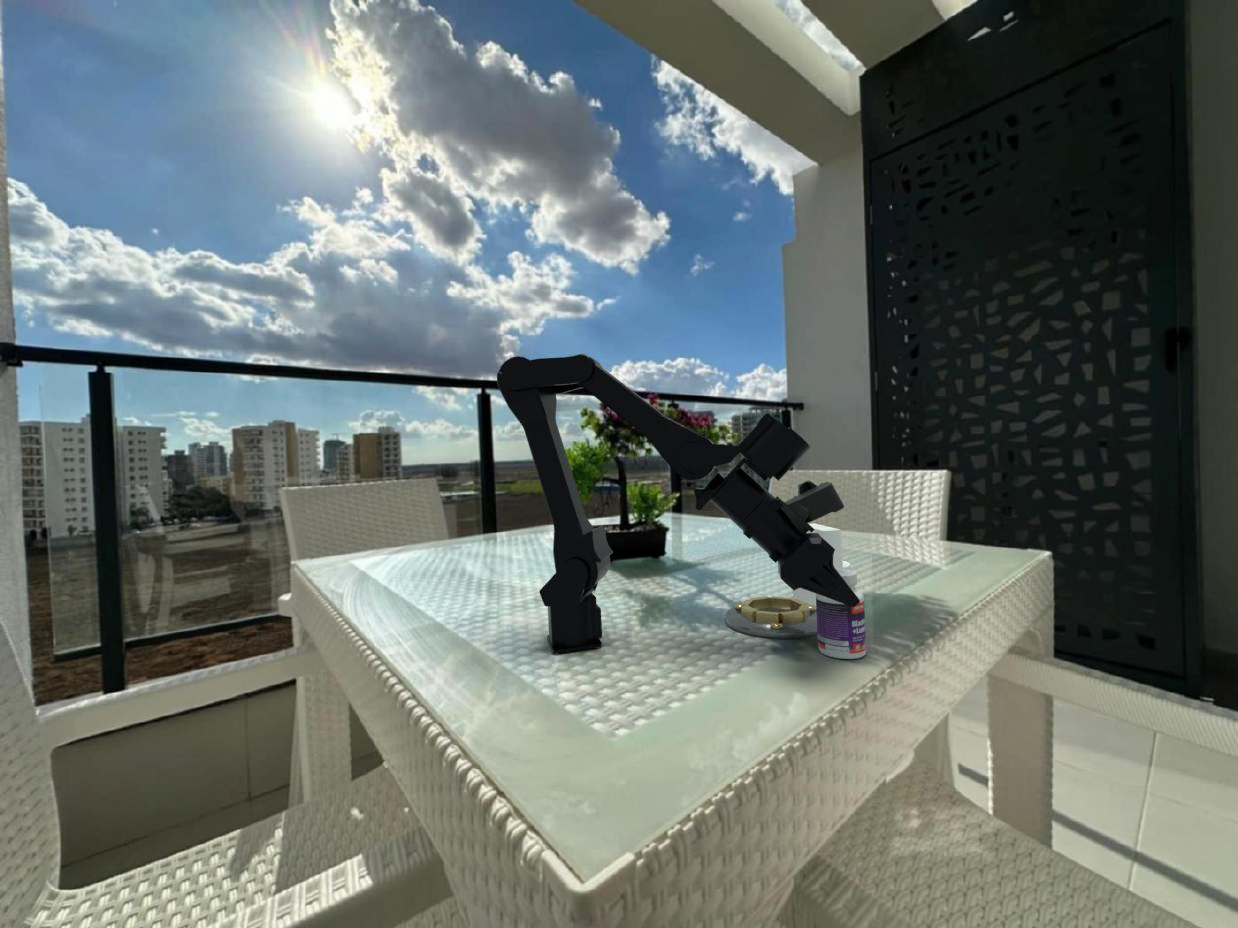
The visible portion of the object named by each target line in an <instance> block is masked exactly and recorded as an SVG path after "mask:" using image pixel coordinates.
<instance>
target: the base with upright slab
mask: <svg viewBox="0 0 1238 928" xmlns="http://www.w3.org/2000/svg"><path fill="white" fill-rule="evenodd" d="M808 524H809V525H810V526H812V527H813V528H814V529H815V530H814V531H813V532H812V533H818V534H819V535H820V536H821V537H822V538H823V539H824V540H826V541H827V542H828V543H829V544H830V545H831V546H832V547H833V548H834V549H835V551H834V554H833V566H834V568H835V569H847V570H852V569H851V563H850V562H848V561H845V560H843V545H842V529H839V528H835V527H831V526H827V525H822V524H819V523H808ZM807 533H811V532H810V531H808V532H807ZM792 594H793V595H792V596H793V597H792V599H798V600H800V601H803V602H805V603H807V604H808V605H814V606H816V593H813V592H811V591H808V590H805V589H802V588H798V589H796V590H793V589H792Z"/></svg>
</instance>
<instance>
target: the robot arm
mask: <svg viewBox="0 0 1238 928" xmlns="http://www.w3.org/2000/svg"><path fill="white" fill-rule="evenodd" d="M496 384H497V387H498V389H499V391H500V393H501V395H502V398H503V400H504V401H505V403H506V405H507V407H508V409H509V410H510V412H512V414H513V416H514V417H515V418H516V419H517V421H518V422H519V423H520V425H521V426H522V429H523V431H524V434H525V438H526V441H527V444H528V447H529V450H530V454H531V457H532V460H533V463H534V466H535V470H536V472H537V477H538V479H539V483H540V485H541V488H542V493H543V495H544V499H545V502H546V506H547V508H548V509H547V510H548V512H549V515H550V518H551V521H552V524H553V547H552V554H553V555H552V556H553V561H554V567H555V568H554V569H555V573H554V574H553V575H552V576H551V578H550V579H549V580H548V581H547V582H546V583H544V585H543V586H542V587H541V588H540V590H539V595H540V598H541V601H542V603H543V605H544V606H545V607H547V620H548V623H547V624H548V634H547V635H546V638H547V639H546V640H547V642H548V644H549V647H550V650H551V652H552V653H553V654H554V655H555V654H563V653H569V652H576V651H582V650H589V649H595V648H596V649H597V648H601V647H602V646H603V645H602V641H601V639H602V638H603V625H602V608H601V607H600V606H599V605H598V603H597V597H596V595H594V594H593V592H595V591H596V590H597V588H598V584H599V582H600V581H601V580H602V579H603V578H604V577H605V576H606V575H607V573H608V571H609V569H610V567H611V555H612V554H613V553H614V551H613V550H612V548H611V547H610V545H609V543H608V541H607V534H606V529H605V526H604V525H601V526H600V525H599V527H596V528H595V527H594V526H593V525H592V523H591V522H590V520H589V519H588V518H587V516H586V512H585V510H584V507H583V504H582V501H581V500H582V499H581V497H580V494H579V490H578V488H577V484H576V481H575V478H574V474H573V472H572V471H573V470H572V469H571V465H570V461H569V459H568V455H567V452H566V449H565V446H564V443H563V440H562V437H561V434H560V430H559V427H558V424H557V417H556V416H557V401H558V400H557V395H560V394H566V393H569V392H573V391H575V390H580V389H584V390H585V391H587V392H588V393H589V394H591V395H592V396H593V397H594V398H596V399H597V400H598V401H599V402H600V403H602V404H603V405H604V406H606V408H608V409H610V411H612V412H613V413H615V414H616V415H617V416H618V417H620V418H621V419H622V420H624V421H625V422H626V423H627V424H629V425H630V426H631V427H632V428H634V429H635V430H636V431H638V432H639V433H640V434H641V435H642V436H644V437H645V439H646V440H647V441H649V443H650V444H651V445H652V447H654V449H655V450H656V452H657V453H658V454H659V455H660V456H661V458H662V459H663V460H664V461H665V462H666V463H667V464H668V466H669V467H670V468H671V469H672V470H673V471H674V472H675V473H676V475H678V476H680V477H681V478H682V479H685V480H689V481H695V480H701V479H703V478H705V477H707V476H708V475H710V474H711V473H712V472H713V471H714V470H715V469H716V467H717V466H721V465H725V464H729V463H732V462H733V461H734V460H735V458H736V457H737V456H738V455H739V454H740V455H742V456H743V458H741V460H739V461H738V462H737V464H736V465H735V466H734V467H733V468H732V469H731V470H730V471H729V472H728V474H726V476H725V475H724V474H722V473H721V472H719V471H717V473H716V474H715V475H714V476H712V478H711V479H710V480H709V481H708V482H707V483H706V485H704V487H695V488H694V489H693V494H694V496H695V507H694V508H695V510H696V511H701V510H702V509H703V508H704V507H705V506H706V504H708V503H709V502H711V503H712V504H713V505H714V506H715V507H716V508H718V509H719V510H720V511H721V512H722V513H723V514H724V515H725V516H726V517H728V518H729V519H730V521H732V523H734V524H735V525H736V526H737V527H738V528H739V529H740V530H741V531H742V533H743V535H745V537H746V538H748V540H750V539H751V540H753V541H754V543H756V544H757V545H758V546H759V547H760V548H761V549H762V550H763V551H764V552H765V553H767V555H768V557H769V559H771V560H772V562H774V563H775V564H776V563H777V572H778V576H779V577H780V580H781V581H783V582H784V583H785V584H786V585H787V586H788V587H789V588H790V589H791V590H792V591H793V590H796V589H798V588H802V589H805V590H808V591H811V592H813V593H816V594H819V595H822V596H824V597H827V598H830V599H833V600H835V601H838V602H840V603H843V604H846V605H848V606H851V607H855V606H856V605H857V604H859V602H860V600H859V598H858V597H857V596H856V595H855V593H854V592H853V591H852V589H851V588H850V587H849V586H848V584H847V583H846V582H845V580H844V579H843V578H842V577H841V575H840V574H839V573H838V571H837V570H836V569H835V568H834V566H833V554H834V551H835V549H834V548H833V547H832V546H831V545H830V544H829V543H828V542H827V541H826V540H824V539H823V538H822V537H821V536H820V535H819V534H818V533H812V532H813V531H814V530H815V529H814V528H813V527H812V526H810V525H809V524H810V523H811V522H814V521H816V520H818V519H820V518H822V517H824V516H826V515H828V514H831V513H838V512H839V511H841V510H842V509H844V508H845V504H844V503H843V500H841V497H840V496H839V494H838V492H837V490H836V489H835V486H834V485H833V483H832V482H829V481H826V482H825V481H824V482H821V483H819V484H818V485H817V484H815V483H814V482H812V481H811V480H806V481H804V482H802V483H799V484H798V485H797V495H793V496H792V498H790V499H788V500H786V501H783V499H781V498H780V497H779V496H778V495H777V496H775V495H773V494H772V493H770V492H769V491H768V490H767V489H766V488H765V487H764V486H762V484H761V483H759V482H758V481H757V480H756V479H755V478H753V477H752V475H750V474H749V473H748V472H747V471H746V470H745V469H743V468H742V466H744V464H745V465H746V466H747V467H748V468H750V470H752V471H753V472H754V473H755V474H756V475H757V476H758V477H759V478H761V479H762V480H763V481H764V482H765V483H767V482H768V481H769V480H771V479H773V478H774V479H775V480H776V481H778V482H779V481H780V480H782V478H784V476H785V475H786V474H787V473H788V472H789V471H790V470H791V469H792V468H793V467H794V466H795V464H796V463H797V462H798V461H799V460H800V459H801V458H802V457H803V456H804V455H805V454H806V453H807V452H808V451H809V450H810V449H811V446H810V444H809V443H808V442H807V441H806V440H805V439H804V438H803V437H802V436H800V435H799V433H797V432H796V431H795V430H794V429H793V428H791V427H787V425H785V424H783V423H782V422H781V421H779V420H778V419H777V418H775V417H773V416H772V415H771V414H770V413H768V412H767V413H765V414H763V416H762V417H761V418H760V419H759V420H758V422H757V424H756V426H755V427H754V428H753V429H752V430H751V431H750V432H749V433H748V435H747V436H746V437H744V439H743V440H742V441H741V442H740V443H739V444H738V445H733V443H731V442H730V443H729V444H718V443H717V444H715V443H714V442H713V441H712V440H711V439H710V438H708V437H706V436H704V435H703V434H701V433H698V432H696V431H695V430H693V429H691V428H689V427H687V426H686V425H683V424H681V423H679V422H678V421H675V420H674V419H672V418H670V417H668V416H666V415H665V414H663V413H662V412H661V411H659V410H658V409H657V408H656V407H654V406H653V405H651V404H650V403H649V402H648V401H647V400H645V399H644V398H642V397H641V396H640V395H639V394H638V393H636V392H635V391H634V390H632V389H631V388H630V387H628V385H626V384H624V383H623V382H622V381H620V380H619V378H617V377H615V376H614V375H613V374H611V373H610V372H609V371H607V370H606V368H604V367H603V366H602V365H601V363H600V362H599V361H598V360H597V359H595V358H593V357H592V356H590V355H588V354H587V353H585V354H583V353H579V354H575V355H571V356H570V355H569V356H565V357H544V358H543V357H542V358H534V359H529V358H527V357H524V356H519V355H518V356H512V357H510V358H509V359H506V360H505V361H504V362H503V363H502V365H501V366H500V368H499V370H498V372H496ZM808 531H810V532H811V533H807V532H808Z"/></svg>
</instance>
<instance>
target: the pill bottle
mask: <svg viewBox="0 0 1238 928" xmlns="http://www.w3.org/2000/svg"><path fill="white" fill-rule="evenodd" d="M836 570H837V571H838V573H839V574H840V575H841V577H842V578H843V579H844V580H845V582H846V583H847V584H848V586H849V587H850V588H851V589H852V591H853V592H854V593H855V595H856V596H857V597H858V598H859V600H860V602H859V604H857V605H856V606H855V607H851V606H848V605H846V604H843V603H840V602H838V601H835V600H833V599H830V598H827V597H824V596H822V595H819V594H816V612H817V646H818V650H819V651H820V653H821V654H822V655H825V656H826V657H831V658H835V659H841V660H855V659H860V658H863V657H864V656H865V655H866V654H867V638H866V637H867V634H866V616H865V615H866V614H865V597H864V594H863V592H862V591H861V590H860V589H858V588H856V586H857V585H858V584H857V583H858V579H857V578H858V576H857V572H856V571H854V570H852V569H851V570H847V569H836Z"/></svg>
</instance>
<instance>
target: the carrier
mask: <svg viewBox="0 0 1238 928" xmlns="http://www.w3.org/2000/svg"><path fill="white" fill-rule="evenodd" d="M725 622H726V625H727V626H728V628H730V629H731V630H733V631H734V632H738V633H739V634H743V635H747V636H751V637H755V638H756V637H758V638H763V639H764V638H765V639H774V640H775V639H777V640H780V639H781V640H789V639H794V640H795V639H801V638H802V639H803V638H808V637H812V636H818V634H817V612H816V606H814V605H808V604H807V603H805V602H803V601H800V600H798V599H793V597H785V596H775V595H774V596H773V595H771V596H770V597H769V596H768V595H766V596H759V597H751V598H749V599H746V600H744V601H743V603H741V602H740V603H739V602H737V603H734V607H731V608H729V609H728V610H727V611H726V612H725Z"/></svg>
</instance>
